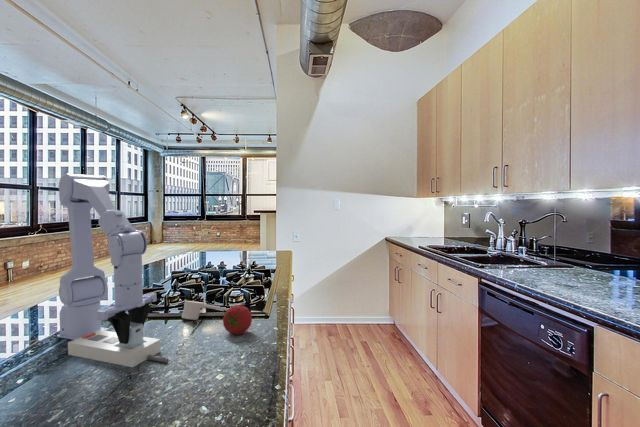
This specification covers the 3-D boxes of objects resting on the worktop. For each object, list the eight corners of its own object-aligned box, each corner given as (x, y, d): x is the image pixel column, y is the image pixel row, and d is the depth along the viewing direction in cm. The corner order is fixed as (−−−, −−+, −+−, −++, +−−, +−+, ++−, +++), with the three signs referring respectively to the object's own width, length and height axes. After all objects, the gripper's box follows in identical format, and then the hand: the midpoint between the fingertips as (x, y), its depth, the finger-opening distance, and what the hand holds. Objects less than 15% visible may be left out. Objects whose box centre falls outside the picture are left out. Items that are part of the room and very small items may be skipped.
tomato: (243, 297, 94) (229, 300, 87) (261, 317, 92) (248, 321, 85) (226, 318, 95) (211, 322, 88) (244, 338, 92) (229, 344, 85)
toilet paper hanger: (246, 308, 109) (211, 306, 95) (243, 324, 108) (206, 324, 94) (203, 300, 118) (165, 296, 105) (200, 314, 117) (161, 312, 104)
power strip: (68, 354, 78) (67, 339, 78) (100, 340, 86) (99, 327, 85) (154, 371, 70) (153, 355, 70) (180, 354, 78) (180, 340, 77)
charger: (119, 351, 76) (119, 326, 76) (130, 346, 79) (130, 321, 79) (132, 354, 75) (132, 328, 75) (143, 348, 78) (143, 323, 78)
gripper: (113, 292, 68) (115, 356, 69) (165, 277, 82) (167, 330, 83) (88, 290, 70) (91, 351, 71) (143, 275, 84) (145, 326, 85)
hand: (130, 339), depth 77 cm, fingers closed on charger, 3 cm apart
